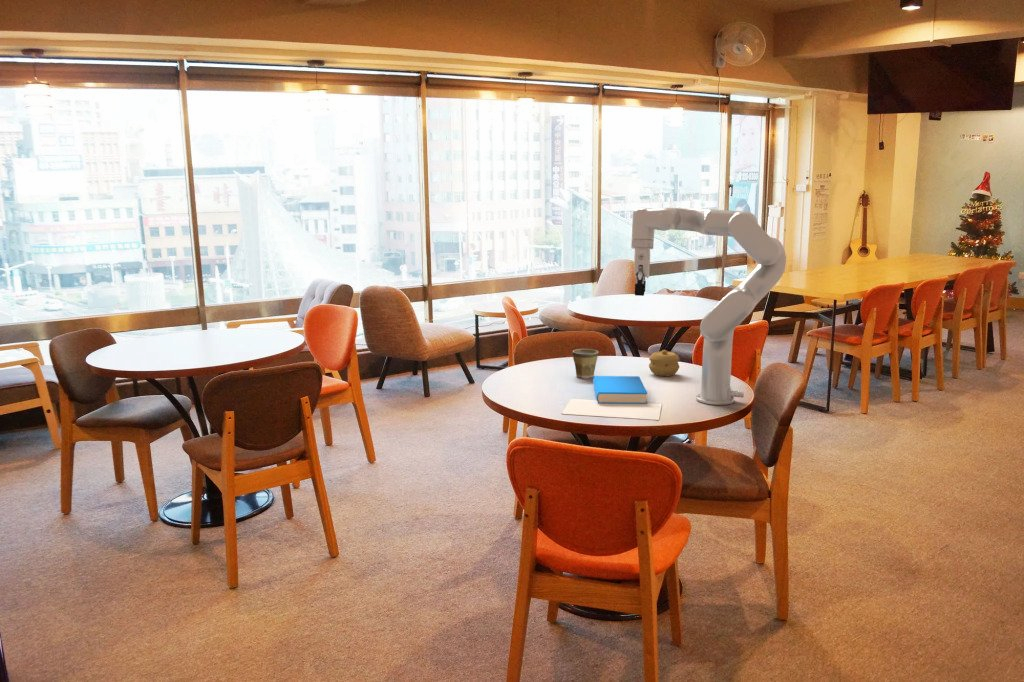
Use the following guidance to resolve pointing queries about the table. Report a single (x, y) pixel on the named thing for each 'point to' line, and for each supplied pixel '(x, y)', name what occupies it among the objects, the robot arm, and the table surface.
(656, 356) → the pot
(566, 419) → the table surface
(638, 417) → the mat
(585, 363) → the ceramic cup
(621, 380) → the book
